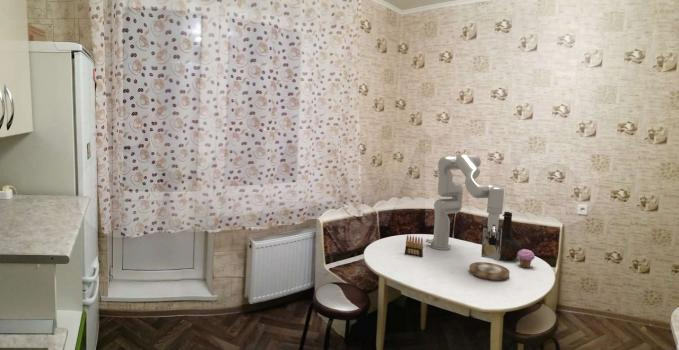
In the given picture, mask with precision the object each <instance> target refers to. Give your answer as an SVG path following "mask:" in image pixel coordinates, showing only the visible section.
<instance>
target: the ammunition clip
mask: <svg viewBox="0 0 679 350" xmlns="http://www.w3.org/2000/svg"><path fill="white" fill-rule="evenodd" d="M405 240H406V241H405V248H404V249H405V250H404V255H407V256H413V257H417V258H423V255H424V254H423V253H424V250H423V249H424V242H423V241H424V239H423V237H420V236H418V237H417V236H414V235H413V236H412V235H411V234H410V235H409V234H407V236H406V239H405Z"/></svg>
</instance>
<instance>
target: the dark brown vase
mask: <svg viewBox="0 0 679 350" xmlns="http://www.w3.org/2000/svg"><path fill="white" fill-rule="evenodd" d="M502 217H503V222H502V226H501V228H502V237H501V250H500V259H501V260H507V261H509V260H510V261H511V260H514V259H517V258H519V257H518V256H517V253H518V252H519V251H520V250H522V245H521V243H520V241H518V240H517V239H516V238H514V236H513V229H512V228H513V227H512V223H513V222H512V221H513V220H512V219H513V212H510V211H504V213H503V214H502ZM500 259H499V260H500Z"/></svg>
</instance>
